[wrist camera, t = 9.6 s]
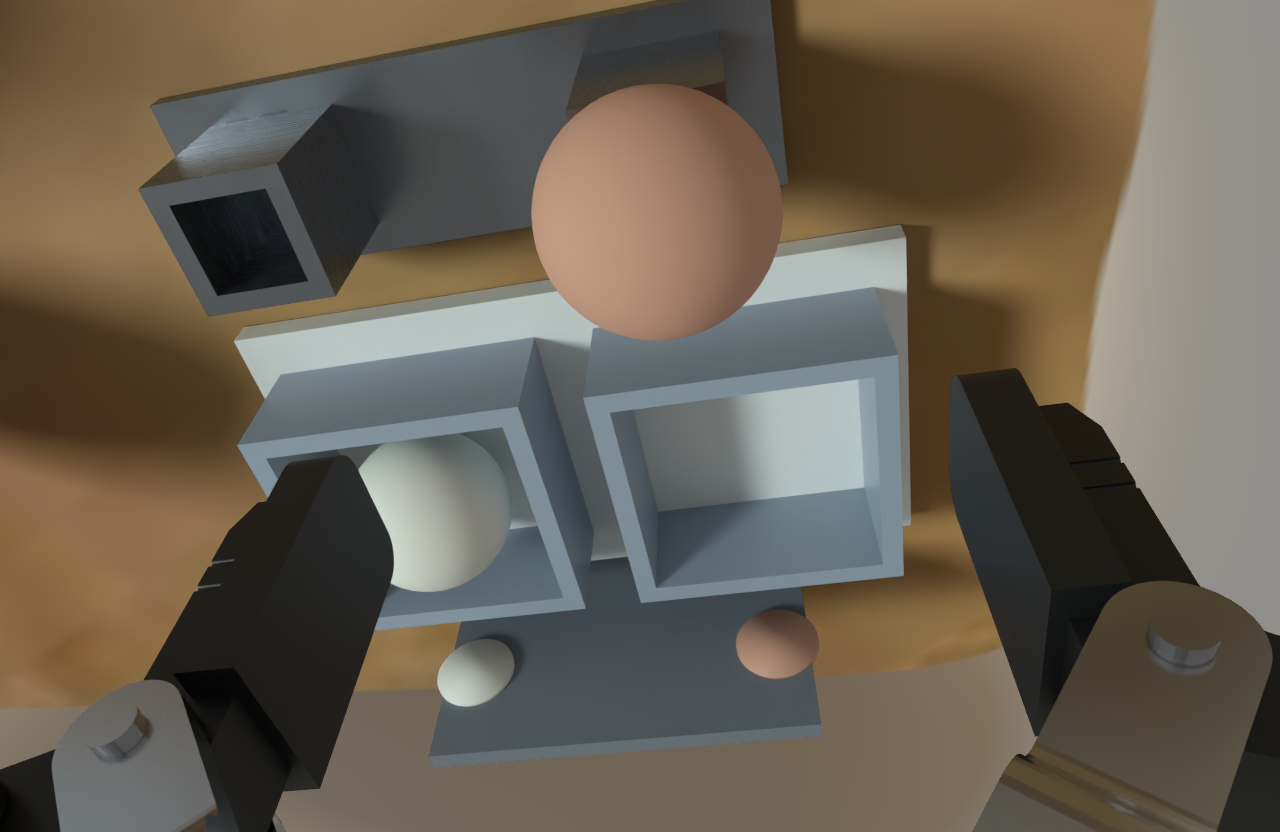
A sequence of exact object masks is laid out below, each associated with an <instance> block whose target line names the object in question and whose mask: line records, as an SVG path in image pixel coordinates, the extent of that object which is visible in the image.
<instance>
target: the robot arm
mask: <svg viewBox="0 0 1280 832" xmlns="http://www.w3.org/2000/svg"><path fill="white" fill-rule="evenodd" d="M949 470H950V485H951V492H952V498H953V503H954V508H955V512H956V515H957V519H958V521H959V524H960V527H961V530H962V533H963V536H964V538H965V541H966V544H967V547H968V550H969V552H970V555H971V558H972V561H973V564H974V566H975V569H976V572H977V575H978V578H979V580H980V583H981V586H982V589H983V592H984V595H985V597H986V600H987V603H988V606H989V609H990V611H991V614H992V617H993V620H994V623H995V625H996V628H997V631H998V634H999V637H1000V639H1001V642H1002V645H1003V648H1004V651H1005V654H1006V656H1007V659H1008V662H1009V665H1010V668H1011V670H1012V673H1013V676H1014V679H1015V682H1016V684H1017V687H1018V690H1019V693H1020V696H1021V698H1022V701H1023V704H1024V707H1025V710H1026V713H1027V715H1028V718H1029V721H1030V724H1031V727H1032V729H1033V732H1034V735H1035V736H1038V738H1037V740H1036V742H1035V744H1034V745H1033V747H1032V749H1031V750H1030V752H1029V753H1028V754H1027V755H1026V756H1024V755H1022V754H1017V755H1016V756H1015V757H1014V758H1013V759H1012V760H1011V762H1010V763H1009V764H1008V766H1007V767H1006V769H1005V770H1004V772H1003V774H1002V776H1001V777H1000V779H999V782H998V783H997V785H996V787H995V789H994V791H993V792H992V794H991V796H990V798H989V801H988V802H987V804H986V806H985V808H984V810H983V812H982V814H981V816H980V818H979V819H978V821H977V823H976V825H975V827H974V829H973V831H972V832H1280V636H1278V635H1275V634H1272V633H1269V632H1266V631H1264V630H1263V628H1262V627H1261V626H1260V624H1259V623H1258V622H1257V621H1256V620H1255V619H1254V617H1253V616H1251V615H1250V614H1249V613H1248V612H1247V611H1246V610H1244V609H1243V608H1242V607H1241V606H1239V605H1238V604H1236V603H1234V602H1233V601H1232V600H1230V599H1228V598H1226V597H1224V596H1222V595H1220V594H1218V593H1216V592H1213V591H1211V590H1208V589H1205V588H1203V587H1200V585H1199V584H1198V583H1197V581H1196V580H1195V578H1194V576H1193V575H1192V573H1191V571H1190V570H1189V568H1188V566H1187V565H1186V563H1185V562H1184V560H1183V558H1182V557H1181V555H1180V553H1179V552H1178V550H1177V549H1176V547H1175V545H1174V544H1173V542H1172V541H1171V539H1170V537H1169V536H1168V534H1167V532H1166V531H1165V529H1164V528H1163V526H1162V524H1161V522H1160V521H1159V519H1158V518H1157V516H1156V514H1155V513H1154V511H1153V510H1152V508H1151V506H1150V505H1149V503H1148V501H1147V500H1146V498H1145V496H1144V495H1143V493H1142V492H1141V490H1140V489H1139V488H1136V484H1135V480H1134V478H1133V477H1132V475H1131V474H1130V472H1129V470H1128V469H1127V467H1126V466H1125V464H1124V463H1121V461H1120V456H1119V454H1118V452H1117V451H1116V449H1115V448H1114V446H1113V444H1112V443H1111V441H1110V439H1109V438H1108V436H1107V435H1106V433H1105V431H1104V430H1103V428H1102V427H1101V426H1100V425H1099V424H1097V423H1096V422H1094V421H1093V420H1092V419H1090V418H1089V417H1087V416H1086V415H1084V414H1083V413H1082V412H1080V411H1079V410H1077V409H1076V408H1074V407H1073V406H1072V405H1070V404H1069V403H1061V404H1053V405H1045V406H1038V404H1037V402H1036V400H1035V399H1034V397H1033V395H1032V393H1031V391H1030V389H1029V387H1028V386H1027V384H1026V382H1025V380H1024V378H1023V376H1022V375H1021V373H1020V372H1019V370H1018V369H1016V368H1012V369H1005V370H997V371H990V372H982V373H975V374H967V375H959V376H954V377H953V379H952V382H951V393H950V464H949ZM212 563H213V564H212V566H211V567H208V568H207V570H206V572H205V573H204V575H203V577H202V579H201V580H200V582H199V584H198V588H199V589H198V591H196V592H194V593H193V594H192V596H191V598H190V600H189V602H188V603H187V605H186V607H185V609H184V610H183V612H182V614H181V616H180V617H179V619H178V621H177V623H176V624H175V626H174V628H173V630H172V631H171V633H170V635H169V637H168V638H167V640H166V642H165V644H164V645H163V647H162V649H161V651H160V652H159V654H158V656H157V658H156V659H155V661H154V663H153V665H152V666H151V668H150V670H149V672H148V673H147V675H146V677H145V679H144V680H143V681H139V682H135V683H131V684H128V685H126V686H123V687H121V688H119V689H117V690H115V691H113V692H111V693H109V694H107V695H106V696H104V697H102V698H101V699H99V700H98V701H96V702H95V703H94V704H92V705H91V706H90V707H88V708H87V709H86V710H85V711H84V712H83V713H82V714H81V715H80V716H79V717H78V718H77V719H76V720H75V721H74V722H73V723H72V724H71V725H70V727H69V728H68V729H67V731H66V732H65V733H64V735H63V736H62V738H61V740H60V741H59V743H58V745H57V747H56V749H55V750H52V751H49V752H47V753H44V754H42V755H39V756H36V757H33V758H31V759H28V760H25V761H22V762H20V763H17V764H15V765H12V766H9V767H6V768H4V769H1V770H0V832H286V831H285V828H284V826H283V824H282V822H281V821H280V819H279V818H278V817H277V815H276V814H275V811H276V808H277V806H278V803H279V800H280V798H281V795H282V792H283V791H295V790H308V789H319V788H320V787H321V784H322V781H323V778H324V775H325V772H326V769H327V766H328V763H329V760H330V758H331V755H332V752H333V749H334V746H335V743H336V740H337V737H338V734H339V731H340V728H341V725H342V722H343V719H344V717H345V714H346V711H347V708H348V705H349V702H350V699H351V696H352V694H353V691H354V688H355V685H356V682H357V679H358V676H359V673H360V670H361V667H362V664H363V662H364V659H365V656H366V653H367V650H368V647H369V644H370V641H371V638H372V635H373V632H374V630H375V627H376V624H377V621H378V618H379V615H380V612H381V609H382V606H383V603H384V600H385V598H386V595H387V592H388V589H389V586H390V583H391V580H392V576H393V570H394V552H393V546H392V541H391V538H390V535H389V533H388V531H387V529H386V526H385V524H384V522H383V520H382V518H381V516H380V514H379V512H378V510H377V508H376V506H375V504H374V502H373V500H372V498H371V496H370V494H369V492H368V489H367V487H366V485H365V483H364V481H363V479H362V477H361V475H360V473H359V471H358V469H357V467H356V465H355V464H354V462H353V461H352V460H351V459H350V458H349V457H347V456H345V455H340V456H332V457H325V458H317V459H309V460H302V461H294V462H291V463H289V464H288V465H287V466H285V468H284V469H283V471H282V473H281V475H280V477H279V478H278V480H277V482H276V484H275V486H274V488H273V489H272V491H271V493H270V495H269V497H268V499H267V501H266V502H259V503H257V504H256V505H255V506H254V507H253V508H252V509H251V510H250V511H249V512H248V513H247V514H246V515H245V516H244V517H243V518H242V519H240V520H239V521H238V522H237V523H236V524H235V525H234V526H233V527H232V528H231V529H230V530H229V531H228V533H227V535H226V537H225V538H224V540H223V542H222V544H221V545H220V547H219V549H218V551H217V552H216V554H215V556H214V558H213V559H212Z"/></svg>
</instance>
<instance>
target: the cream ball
mask: <svg viewBox="0 0 1280 832" xmlns="http://www.w3.org/2000/svg"><path fill="white" fill-rule="evenodd" d="M358 471H359V473H360V475H361V477H362V479H363V481H364V483H365V485H366V487H367V489H368V492H369V494H370V496H371V498H372V500H373V502H374V504H375V506H376V508H377V510H378V512H379V514H380V516H381V518H382V520H383V522H384V524H385V526H386V529H387V531H388V533H389V535H390V538H391V541H392V546H393V552H394V570H393V576H392V580H391V584H393V585H395V586H398V587H400V588H403V589H407V590H412V591H419V592H437V591H443V590H447V589H451V588H454V587H457V586H460V585H462V584H464V583H466V582H468V581H470V580H472V579H473V578H475V577H476V576H478V575H479V574H480V573H482V572H483V571H484V570H485V569H486V568H487V567H488V566H489V565H490V564H491V563H492V562H493V560H494V559H495V558H496V557H497V555H498V554H499V552H500V551H501V549H502V547H503V545H504V543H505V541H506V539H507V536H508V532H509V529H510V525H511V518H512V500H511V493H510V489H509V486H508V482H507V479H506V477H505V475H504V473H503V471H502V469H501V468H500V466H499V465H498V463H497V462H496V460H495V459H494V458H493V457H492V456H491V455H490V454H489V453H488V452H487V451H486V450H485V449H484V448H483V447H482V446H480V445H479V444H477V443H476V442H474V441H472V440H471V439H469V438H467V437H464V436H462V435H459V434H456V433H455V434H448V435H440V436H433V437H425V438H418V439H410V440H403V441H395V442H388V443H384V444H383V445H381V446H380V447H379V448H378V449H376V450H375V451H374V452H373V453H372V454H371V455H370V456H369V457H368V458H367V459H366V460H365V462H364V463H363V464H362V466H361V467H360V468H359V470H358Z"/></svg>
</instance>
